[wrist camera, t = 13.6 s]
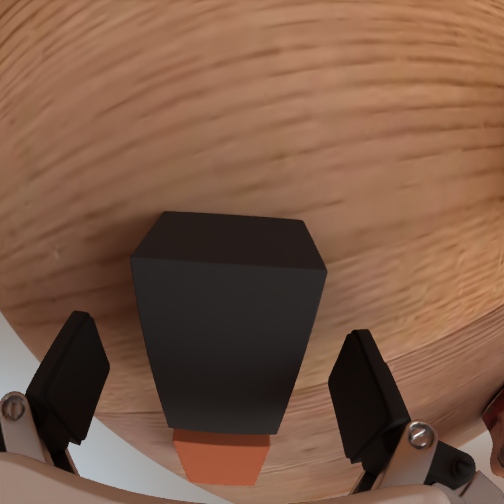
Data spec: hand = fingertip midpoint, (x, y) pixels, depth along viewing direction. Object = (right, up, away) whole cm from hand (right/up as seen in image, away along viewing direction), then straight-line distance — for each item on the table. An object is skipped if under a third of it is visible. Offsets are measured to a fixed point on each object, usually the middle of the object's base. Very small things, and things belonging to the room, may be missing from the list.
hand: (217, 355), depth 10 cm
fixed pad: (-1, -8, +7) cm, 11 cm away
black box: (0, +1, +2) cm, 3 cm away
